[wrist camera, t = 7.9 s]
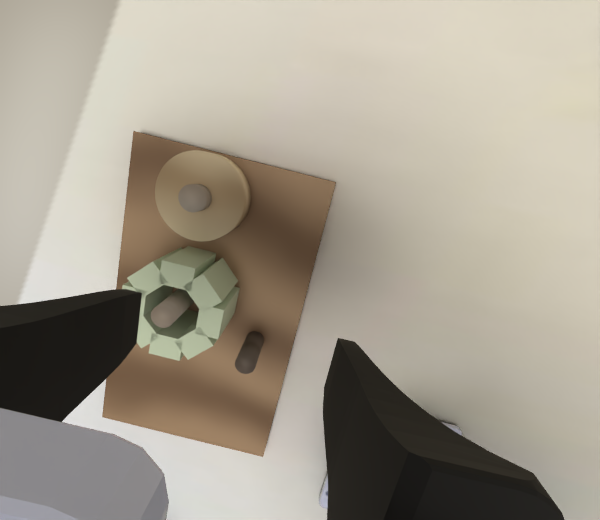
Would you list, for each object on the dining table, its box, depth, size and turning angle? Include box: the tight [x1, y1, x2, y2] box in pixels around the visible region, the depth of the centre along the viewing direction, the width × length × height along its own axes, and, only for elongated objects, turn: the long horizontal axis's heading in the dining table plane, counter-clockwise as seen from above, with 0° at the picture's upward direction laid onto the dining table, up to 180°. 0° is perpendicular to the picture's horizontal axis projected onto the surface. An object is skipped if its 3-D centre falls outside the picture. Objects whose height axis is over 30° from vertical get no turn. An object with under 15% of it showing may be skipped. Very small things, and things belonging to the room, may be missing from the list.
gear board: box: [102, 131, 336, 457], centre depth 20 cm, size 20×12×5 cm, turn 166°
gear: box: [122, 246, 240, 361], centre depth 19 cm, size 6×6×4 cm
